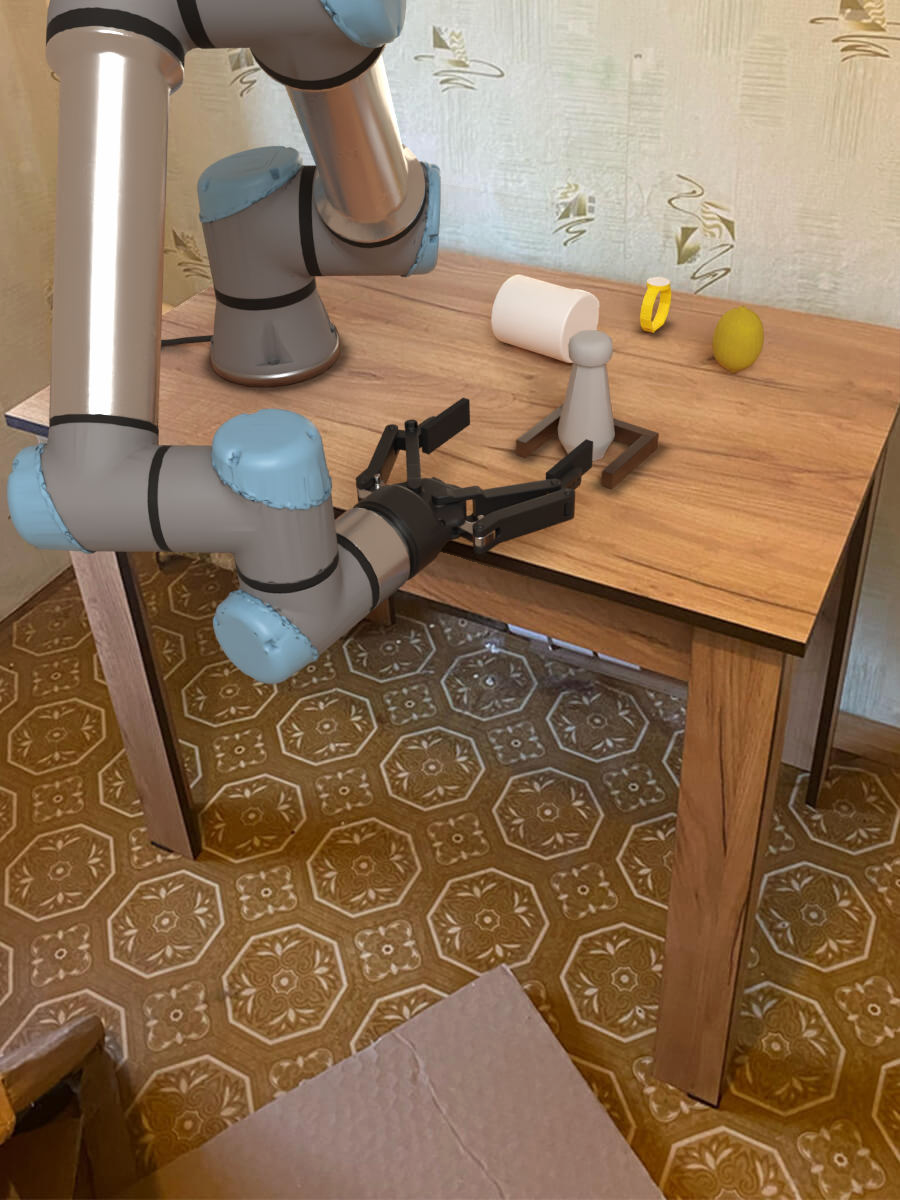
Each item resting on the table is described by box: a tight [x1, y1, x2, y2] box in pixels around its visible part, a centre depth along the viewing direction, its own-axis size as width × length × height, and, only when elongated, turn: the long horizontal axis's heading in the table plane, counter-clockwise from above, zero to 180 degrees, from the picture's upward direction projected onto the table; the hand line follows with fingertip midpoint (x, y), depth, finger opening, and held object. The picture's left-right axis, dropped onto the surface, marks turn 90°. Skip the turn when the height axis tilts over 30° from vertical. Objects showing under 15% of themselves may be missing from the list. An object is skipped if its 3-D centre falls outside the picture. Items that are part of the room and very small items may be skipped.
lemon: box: [711, 305, 765, 374], centre depth 123 cm, size 6×6×8 cm
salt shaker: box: [557, 329, 615, 462], centre depth 110 cm, size 6×6×13 cm
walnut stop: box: [515, 402, 660, 490], centre depth 113 cm, size 11×9×2 cm
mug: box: [490, 274, 601, 364], centre depth 130 cm, size 12×10×8 cm
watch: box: [639, 276, 673, 334], centre depth 133 cm, size 6×3×6 cm, turn 147°
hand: (526, 431), depth 102 cm, fingers open, 13 cm apart
